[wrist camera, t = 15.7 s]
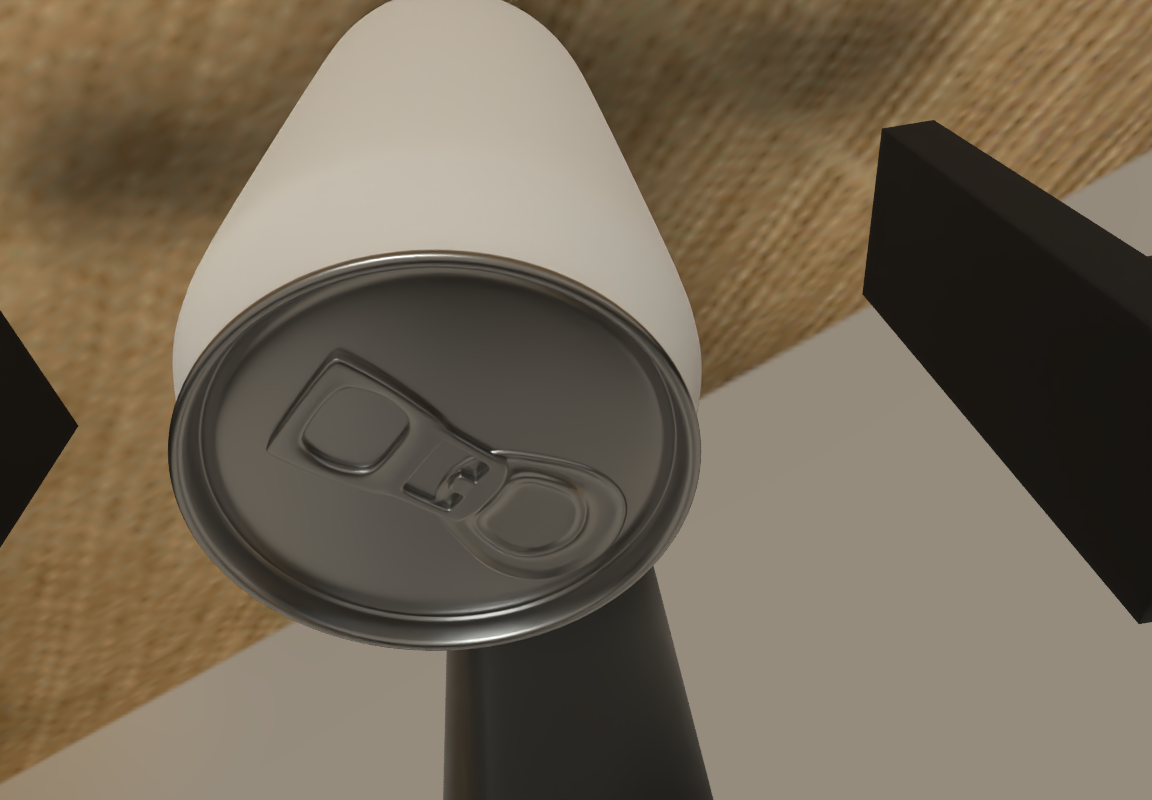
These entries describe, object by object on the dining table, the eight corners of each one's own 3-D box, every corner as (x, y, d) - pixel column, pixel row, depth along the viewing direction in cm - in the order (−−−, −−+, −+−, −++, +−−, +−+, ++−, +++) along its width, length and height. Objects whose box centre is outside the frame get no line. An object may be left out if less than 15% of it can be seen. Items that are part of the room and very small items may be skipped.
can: (490, 310, 21) (509, 723, 11) (260, 166, 18) (18, 555, 8) (651, 114, 18) (860, 430, 8) (414, -92, 15) (325, 36, 6)
